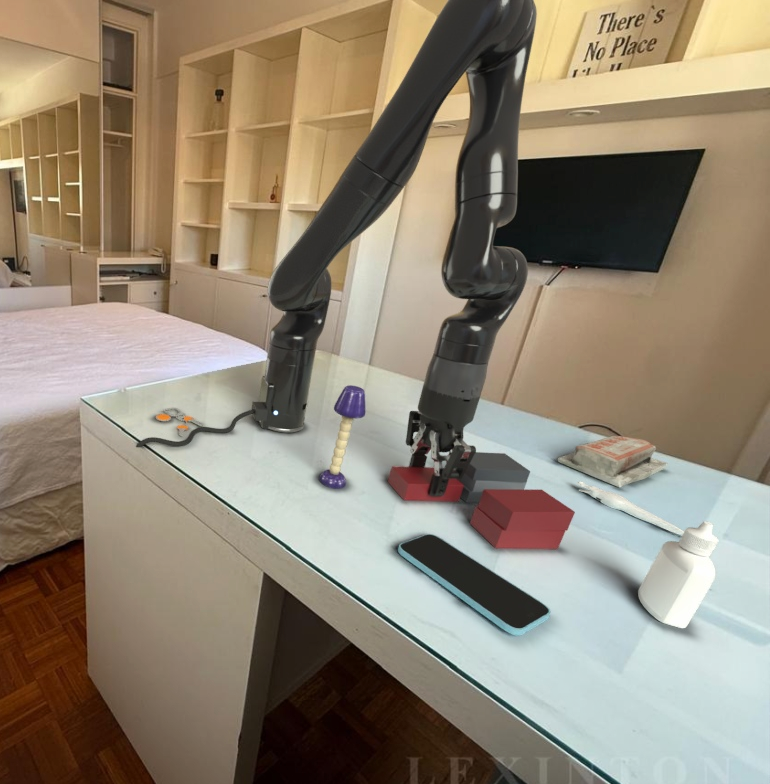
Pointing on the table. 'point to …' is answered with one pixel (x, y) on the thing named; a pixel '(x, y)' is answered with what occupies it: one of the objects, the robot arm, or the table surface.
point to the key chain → (182, 427)
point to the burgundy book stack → (521, 519)
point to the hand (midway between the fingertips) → (424, 484)
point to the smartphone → (475, 584)
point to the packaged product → (615, 460)
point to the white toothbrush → (627, 507)
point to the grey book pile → (491, 475)
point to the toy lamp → (344, 432)
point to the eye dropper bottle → (680, 577)
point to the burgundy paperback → (420, 484)
